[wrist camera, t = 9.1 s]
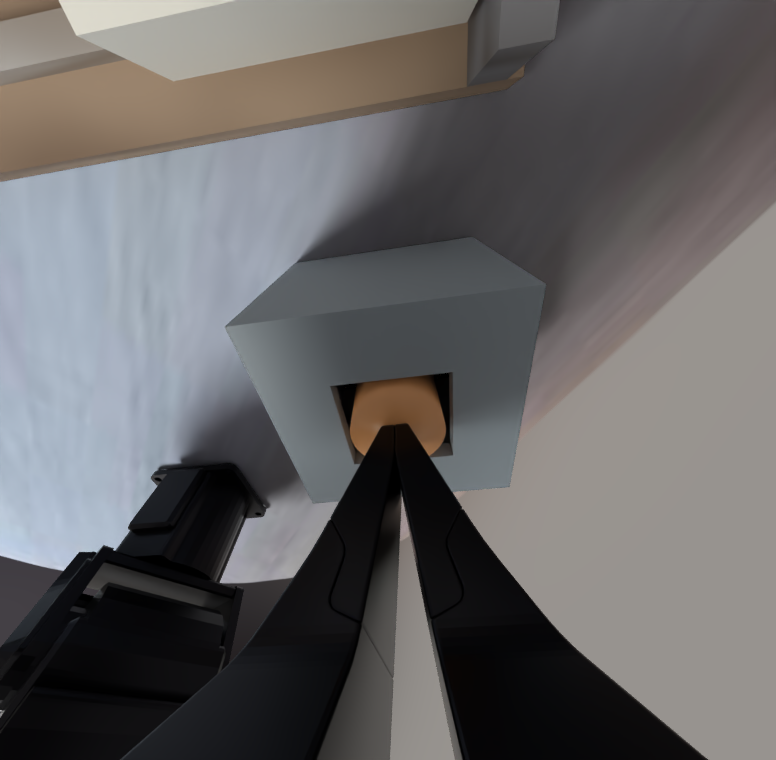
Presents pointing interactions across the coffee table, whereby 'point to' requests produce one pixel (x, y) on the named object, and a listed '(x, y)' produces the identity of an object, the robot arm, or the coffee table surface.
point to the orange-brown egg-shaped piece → (398, 410)
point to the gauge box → (395, 354)
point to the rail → (233, 85)
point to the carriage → (247, 28)
